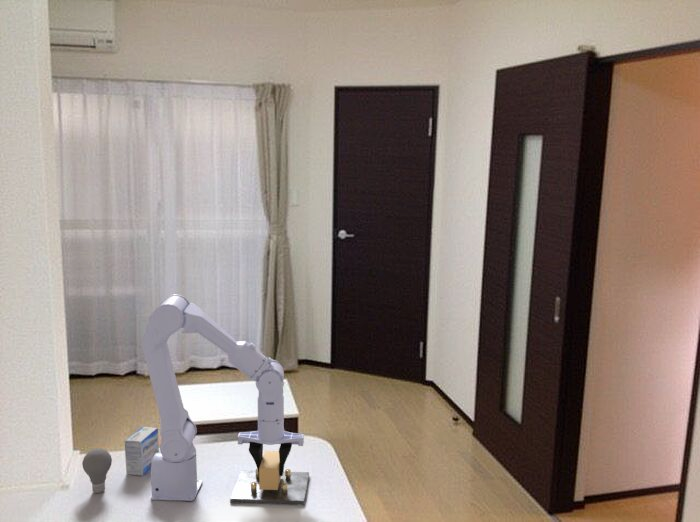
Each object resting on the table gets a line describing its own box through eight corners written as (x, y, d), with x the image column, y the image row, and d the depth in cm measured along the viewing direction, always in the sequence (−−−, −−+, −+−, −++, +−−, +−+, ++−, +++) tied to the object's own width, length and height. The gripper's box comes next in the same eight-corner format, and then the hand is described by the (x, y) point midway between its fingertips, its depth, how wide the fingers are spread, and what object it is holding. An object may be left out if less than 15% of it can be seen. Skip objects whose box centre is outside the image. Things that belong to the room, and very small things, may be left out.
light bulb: (106, 481, 142) (104, 440, 140) (117, 491, 138) (115, 450, 136) (79, 491, 138) (77, 449, 136) (90, 502, 134) (88, 459, 132)
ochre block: (259, 489, 136) (259, 468, 135) (265, 470, 144) (265, 450, 143) (277, 489, 136) (277, 468, 135) (282, 471, 144) (282, 451, 143)
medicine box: (143, 477, 145) (141, 442, 143) (125, 474, 145) (123, 440, 144) (159, 460, 152) (158, 427, 151) (143, 458, 153) (141, 425, 152)
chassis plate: (230, 502, 134) (230, 490, 134) (241, 474, 146) (241, 462, 146) (303, 505, 134) (304, 492, 134) (308, 476, 146) (309, 464, 145)
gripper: (305, 409, 141) (305, 465, 143) (241, 408, 141) (242, 463, 144) (302, 423, 134) (302, 481, 136) (235, 421, 134) (236, 479, 137)
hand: (271, 473), depth 140 cm, fingers closed on ochre block, 4 cm apart
